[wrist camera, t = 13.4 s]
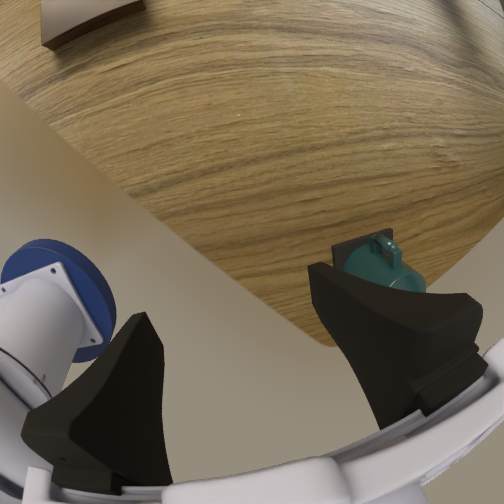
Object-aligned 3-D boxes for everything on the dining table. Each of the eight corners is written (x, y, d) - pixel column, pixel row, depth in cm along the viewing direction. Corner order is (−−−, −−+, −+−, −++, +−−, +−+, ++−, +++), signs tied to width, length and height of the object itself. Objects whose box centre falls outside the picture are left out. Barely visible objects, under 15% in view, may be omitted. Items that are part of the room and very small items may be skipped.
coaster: (336, 304, 26) (338, 306, 26) (331, 245, 23) (334, 247, 23) (388, 283, 27) (391, 286, 26) (389, 227, 24) (393, 229, 23)
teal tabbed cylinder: (343, 305, 26) (373, 344, 20) (338, 232, 22) (378, 262, 17) (386, 289, 26) (420, 321, 21) (387, 217, 23) (431, 242, 17)
